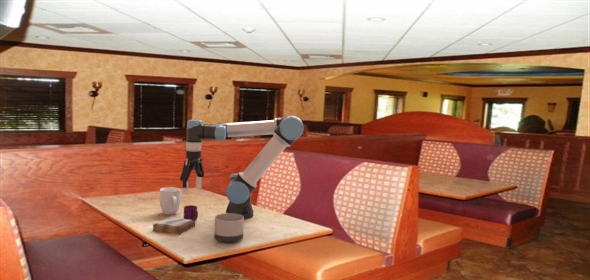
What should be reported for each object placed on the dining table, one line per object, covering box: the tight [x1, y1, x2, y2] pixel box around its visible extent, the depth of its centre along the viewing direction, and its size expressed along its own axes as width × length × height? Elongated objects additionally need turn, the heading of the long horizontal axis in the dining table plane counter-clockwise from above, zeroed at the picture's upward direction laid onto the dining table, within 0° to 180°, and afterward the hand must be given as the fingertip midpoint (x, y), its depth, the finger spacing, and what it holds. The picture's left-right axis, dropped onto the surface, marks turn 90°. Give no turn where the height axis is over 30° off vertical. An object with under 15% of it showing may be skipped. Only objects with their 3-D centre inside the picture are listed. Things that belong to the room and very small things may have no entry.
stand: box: [152, 216, 196, 236], centre depth 202 cm, size 14×14×4 cm
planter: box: [213, 212, 245, 244], centre depth 190 cm, size 13×13×10 cm
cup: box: [183, 204, 199, 222], centre depth 218 cm, size 7×10×7 cm
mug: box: [159, 186, 182, 216], centre depth 227 cm, size 15×11×13 cm
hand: (192, 191), depth 217 cm, fingers open, 13 cm apart
